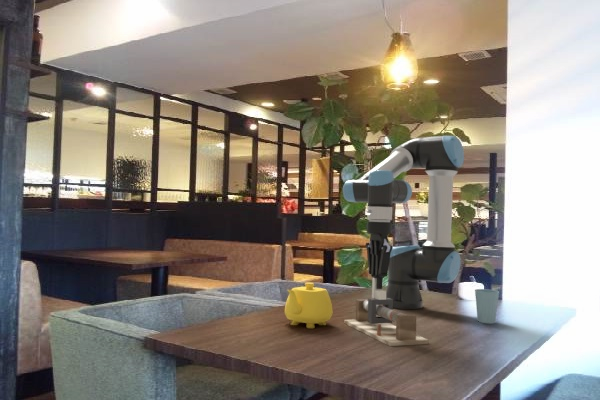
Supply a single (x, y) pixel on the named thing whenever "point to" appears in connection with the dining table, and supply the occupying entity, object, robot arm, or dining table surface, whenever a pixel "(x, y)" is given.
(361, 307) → the pipe rig
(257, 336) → the dining table surface
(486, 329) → the dining table surface
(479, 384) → the dining table surface
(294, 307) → the teapot
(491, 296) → the cup
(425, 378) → the dining table surface
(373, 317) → the grey sliding frame
